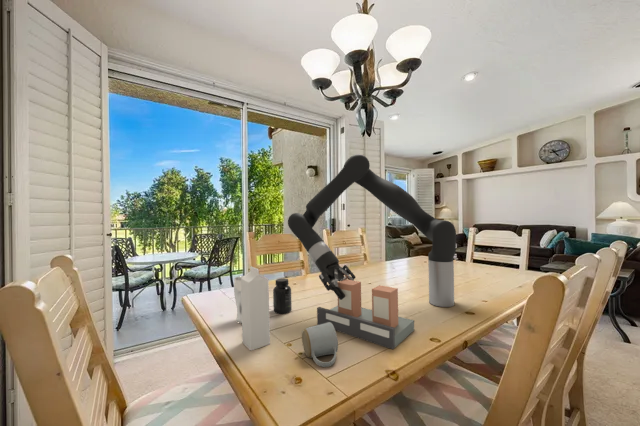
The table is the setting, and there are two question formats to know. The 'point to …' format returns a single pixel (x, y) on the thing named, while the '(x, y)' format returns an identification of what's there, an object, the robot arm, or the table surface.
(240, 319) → the beer glass
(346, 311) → the tea box
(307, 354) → the ceramic mug
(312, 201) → the robot arm
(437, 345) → the table surface
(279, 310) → the supplement bottle
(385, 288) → the tea box
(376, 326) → the display shelf
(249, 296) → the milk
